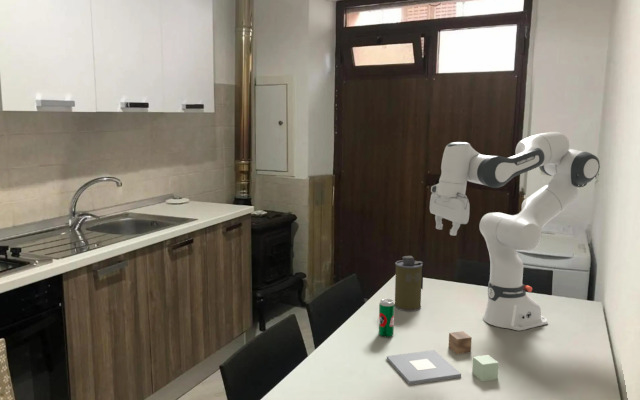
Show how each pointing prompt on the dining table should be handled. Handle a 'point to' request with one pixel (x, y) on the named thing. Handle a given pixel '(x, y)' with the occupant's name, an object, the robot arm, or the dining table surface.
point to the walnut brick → (460, 342)
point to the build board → (423, 367)
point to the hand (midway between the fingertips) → (445, 232)
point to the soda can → (386, 318)
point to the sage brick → (485, 367)
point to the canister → (408, 284)
